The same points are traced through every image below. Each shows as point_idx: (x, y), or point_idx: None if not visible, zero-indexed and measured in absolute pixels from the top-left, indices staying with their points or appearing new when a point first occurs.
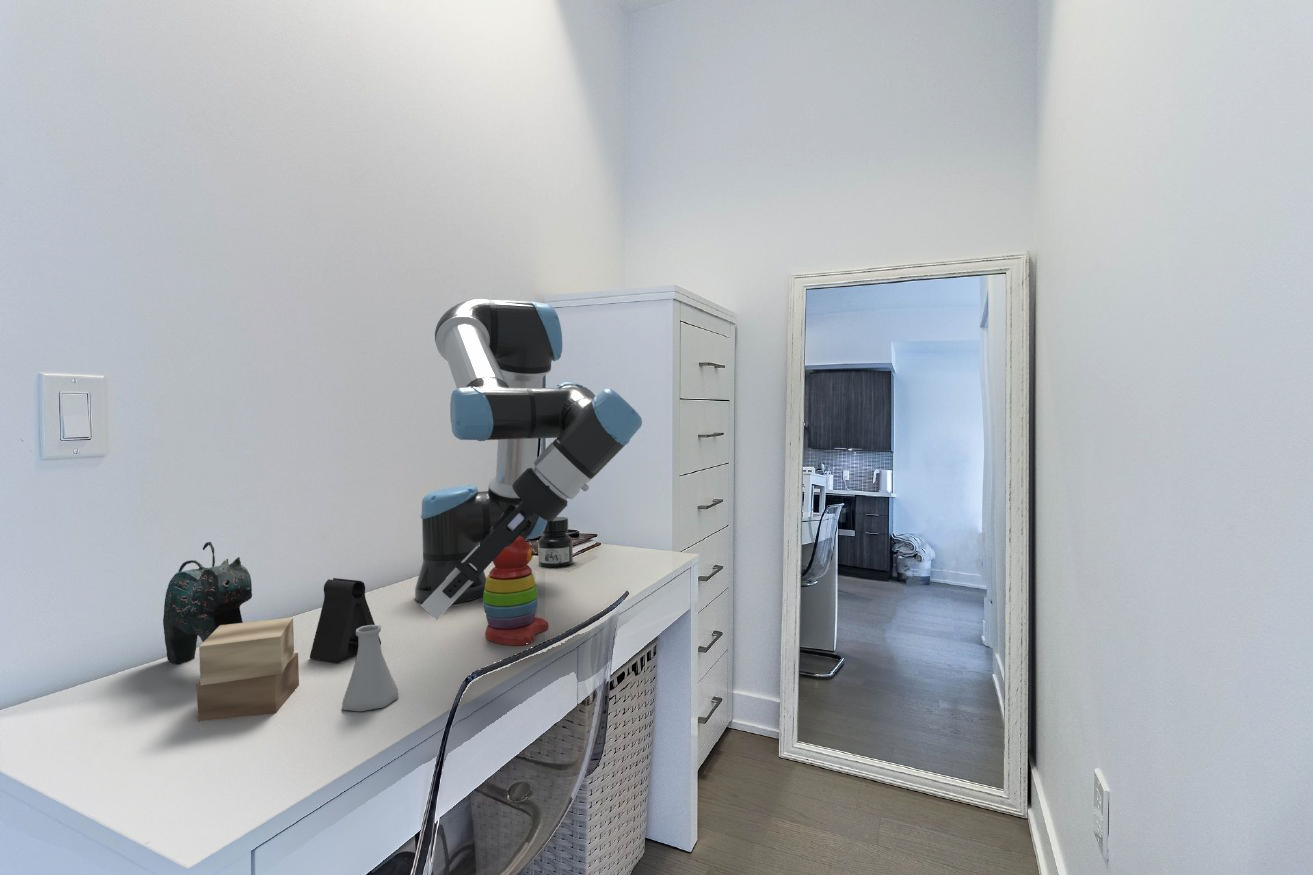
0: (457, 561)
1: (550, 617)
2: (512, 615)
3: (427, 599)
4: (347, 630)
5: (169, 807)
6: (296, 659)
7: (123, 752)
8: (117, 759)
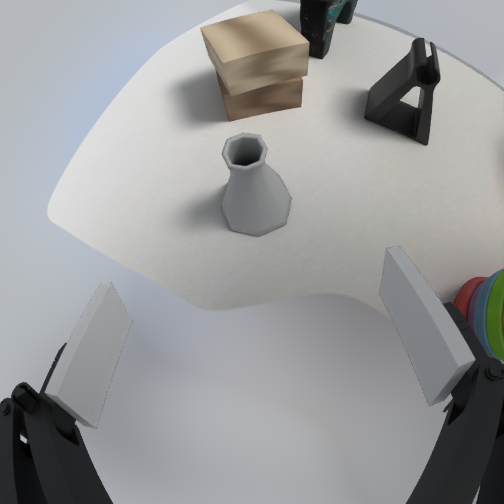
0: (12, 397)
1: None
2: (477, 333)
3: (93, 299)
4: (390, 101)
5: (91, 155)
6: (296, 85)
7: (173, 72)
8: (163, 76)
